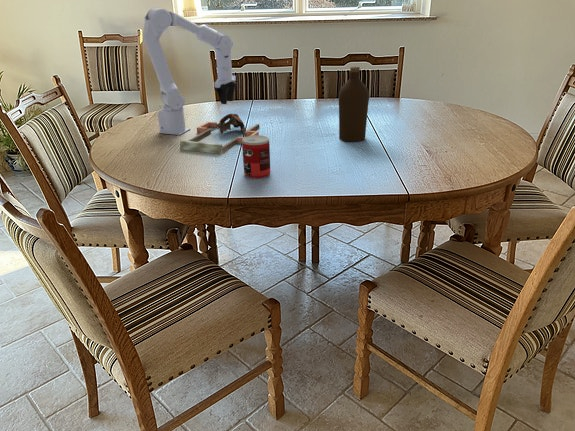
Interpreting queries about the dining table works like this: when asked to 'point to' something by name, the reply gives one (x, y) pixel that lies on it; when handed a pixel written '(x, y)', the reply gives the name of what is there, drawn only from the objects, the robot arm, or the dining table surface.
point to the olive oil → (353, 108)
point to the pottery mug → (231, 123)
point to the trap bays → (214, 125)
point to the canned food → (256, 156)
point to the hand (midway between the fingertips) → (227, 102)
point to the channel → (209, 147)
